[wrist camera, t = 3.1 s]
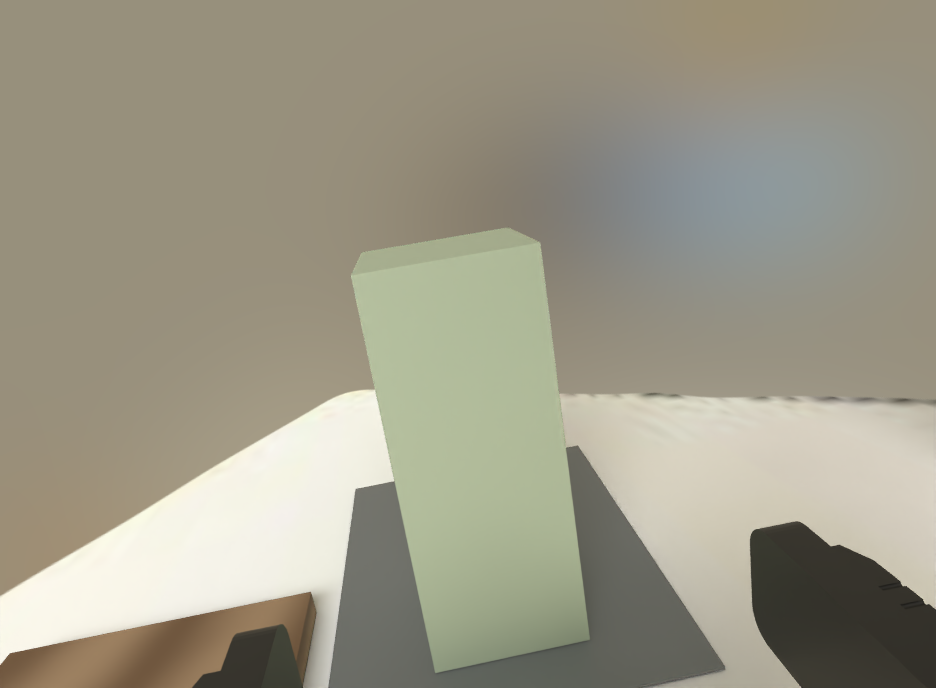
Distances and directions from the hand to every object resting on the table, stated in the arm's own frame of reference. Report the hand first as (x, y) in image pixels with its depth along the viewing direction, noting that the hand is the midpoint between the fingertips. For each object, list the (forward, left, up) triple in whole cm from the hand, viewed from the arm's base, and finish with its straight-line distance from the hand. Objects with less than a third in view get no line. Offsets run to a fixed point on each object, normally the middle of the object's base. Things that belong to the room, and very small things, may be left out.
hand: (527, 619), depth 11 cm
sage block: (0, -12, -9) cm, 15 cm away
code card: (0, -15, -9) cm, 18 cm away
